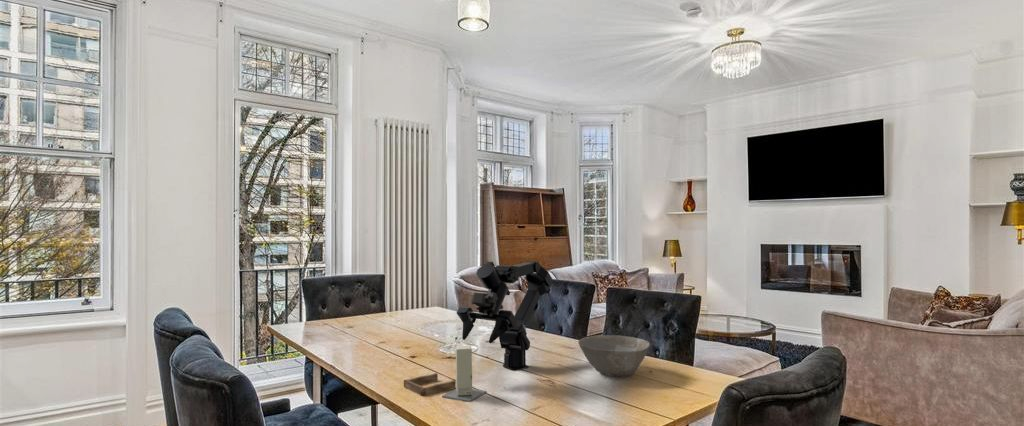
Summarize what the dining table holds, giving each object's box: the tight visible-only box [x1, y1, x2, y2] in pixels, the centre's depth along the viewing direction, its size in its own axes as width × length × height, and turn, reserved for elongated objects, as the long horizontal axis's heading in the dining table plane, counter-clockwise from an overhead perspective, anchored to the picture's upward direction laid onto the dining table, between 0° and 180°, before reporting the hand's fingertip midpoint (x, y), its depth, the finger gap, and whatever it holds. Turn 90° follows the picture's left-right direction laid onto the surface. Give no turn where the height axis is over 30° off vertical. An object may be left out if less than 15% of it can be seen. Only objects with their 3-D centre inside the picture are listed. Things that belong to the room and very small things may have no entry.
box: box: [455, 345, 473, 396], centre depth 147 cm, size 5×4×13 cm
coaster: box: [441, 388, 487, 403], centre depth 147 cm, size 9×9×1 cm
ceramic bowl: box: [577, 334, 651, 377], centre depth 166 cm, size 22×23×10 cm
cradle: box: [403, 372, 456, 397], centre depth 154 cm, size 11×11×2 cm
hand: (476, 340), depth 154 cm, fingers open, 9 cm apart
